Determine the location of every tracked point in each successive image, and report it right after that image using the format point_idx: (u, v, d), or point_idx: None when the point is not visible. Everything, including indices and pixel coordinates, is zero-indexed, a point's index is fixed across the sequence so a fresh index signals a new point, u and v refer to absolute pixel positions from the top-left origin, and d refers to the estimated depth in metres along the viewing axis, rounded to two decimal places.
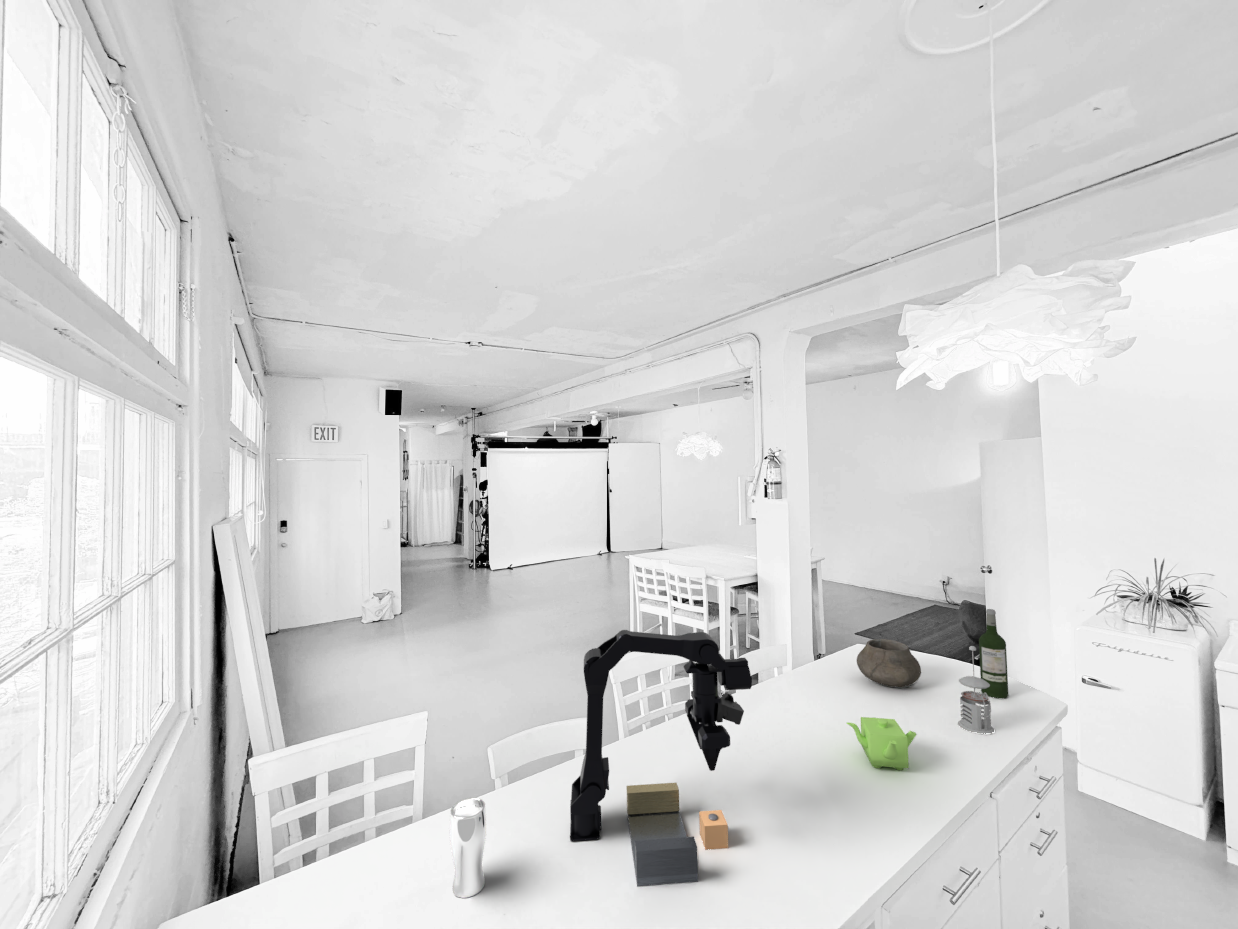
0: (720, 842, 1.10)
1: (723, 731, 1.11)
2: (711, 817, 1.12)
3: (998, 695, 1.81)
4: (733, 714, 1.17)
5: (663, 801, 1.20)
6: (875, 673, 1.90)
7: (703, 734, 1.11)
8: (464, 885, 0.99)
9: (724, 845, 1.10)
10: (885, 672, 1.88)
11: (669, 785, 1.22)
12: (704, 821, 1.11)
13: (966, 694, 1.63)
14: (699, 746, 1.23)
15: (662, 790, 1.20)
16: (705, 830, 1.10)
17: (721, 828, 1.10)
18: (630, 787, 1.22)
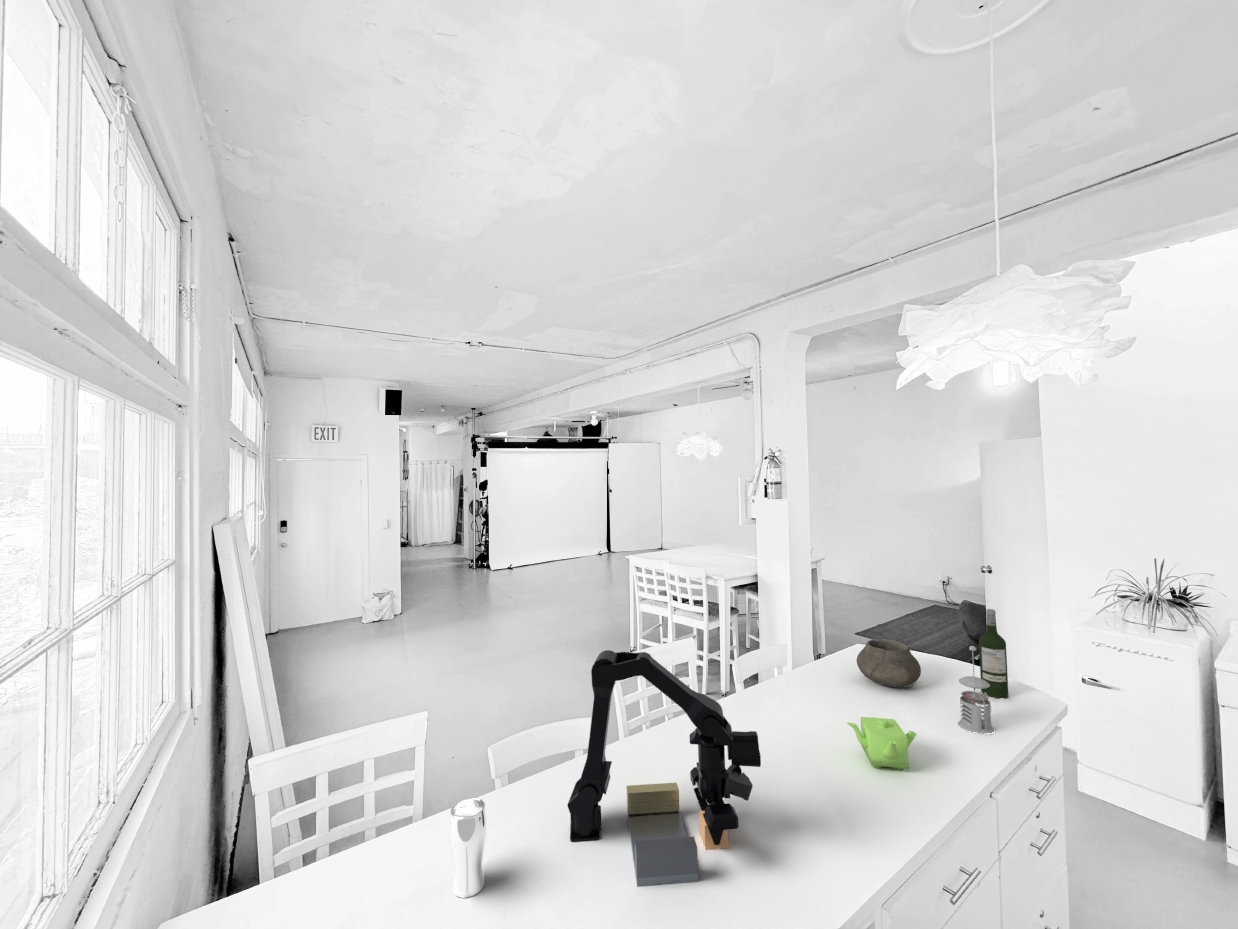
0: (720, 842, 1.10)
1: (731, 812, 1.05)
2: None
3: (998, 695, 1.81)
4: (741, 789, 1.11)
5: (663, 801, 1.20)
6: (875, 673, 1.90)
7: (710, 815, 1.04)
8: (464, 885, 0.99)
9: (724, 845, 1.10)
10: (885, 672, 1.88)
11: (669, 785, 1.22)
12: (704, 820, 1.11)
13: (966, 694, 1.63)
14: None
15: (662, 790, 1.20)
16: (705, 829, 1.10)
17: None
18: (630, 787, 1.22)
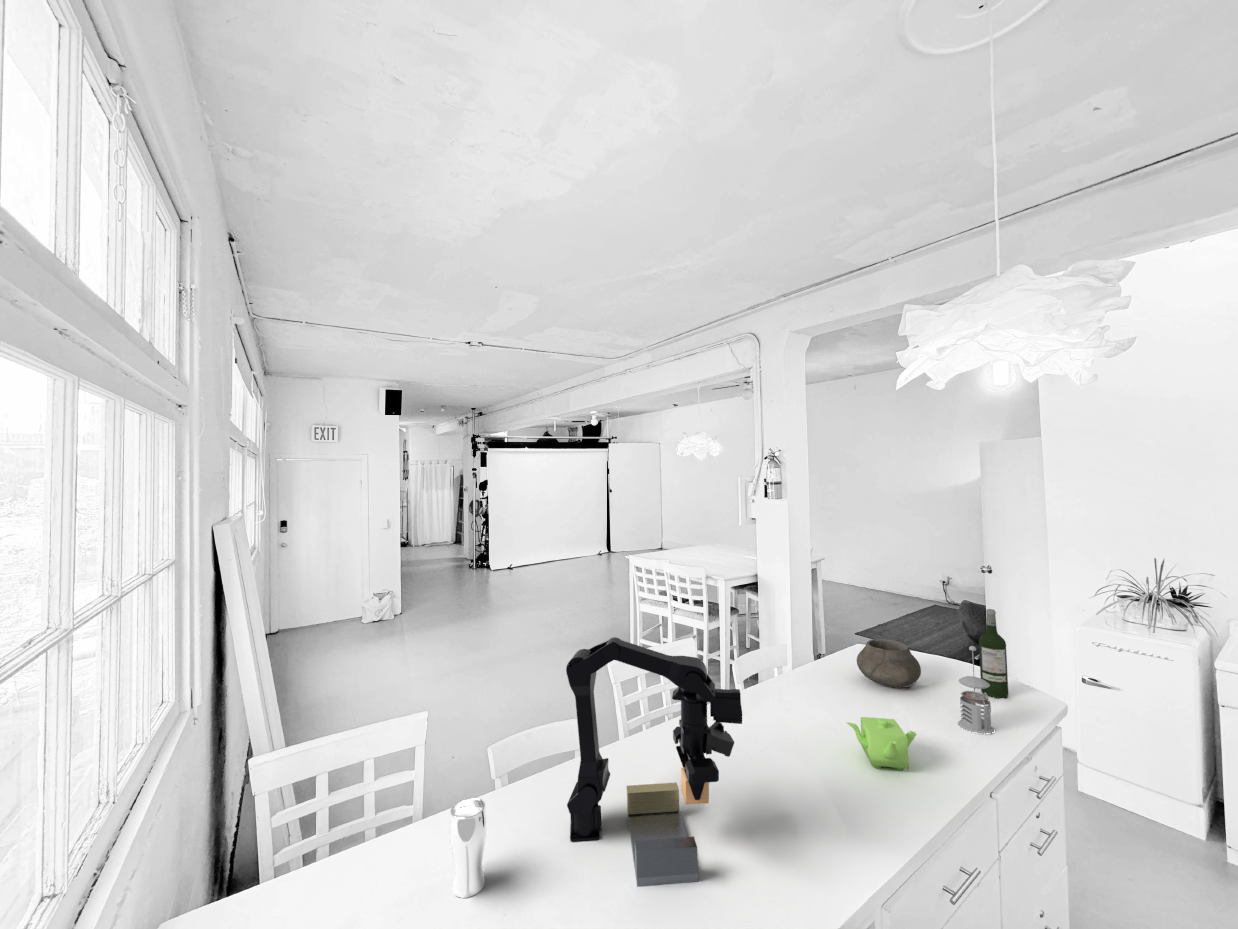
0: (701, 797, 1.10)
1: (711, 765, 1.05)
2: None
3: (998, 695, 1.81)
4: (723, 745, 1.11)
5: (663, 801, 1.20)
6: (875, 673, 1.90)
7: (690, 768, 1.04)
8: (464, 885, 0.99)
9: (704, 800, 1.10)
10: (885, 672, 1.88)
11: (669, 785, 1.22)
12: (685, 776, 1.12)
13: (966, 694, 1.63)
14: None
15: (662, 790, 1.20)
16: (686, 785, 1.10)
17: None
18: (630, 787, 1.22)
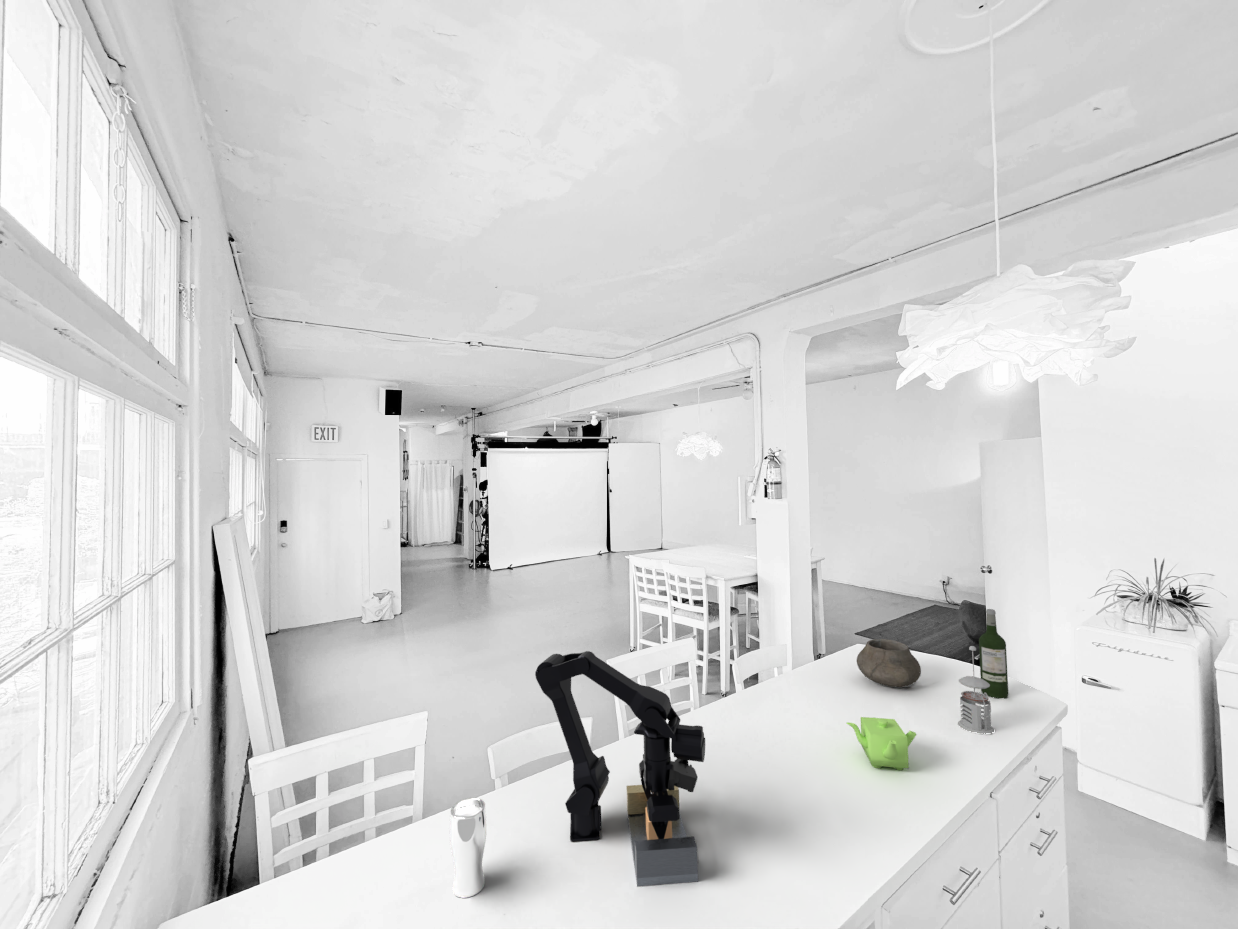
0: (664, 838, 1.09)
1: (672, 803, 1.04)
2: None
3: (998, 695, 1.81)
4: (686, 781, 1.10)
5: None
6: (875, 673, 1.90)
7: (651, 807, 1.04)
8: (464, 885, 0.99)
9: None
10: (885, 672, 1.88)
11: None
12: None
13: (966, 694, 1.63)
14: None
15: None
16: (649, 826, 1.09)
17: None
18: (630, 787, 1.22)
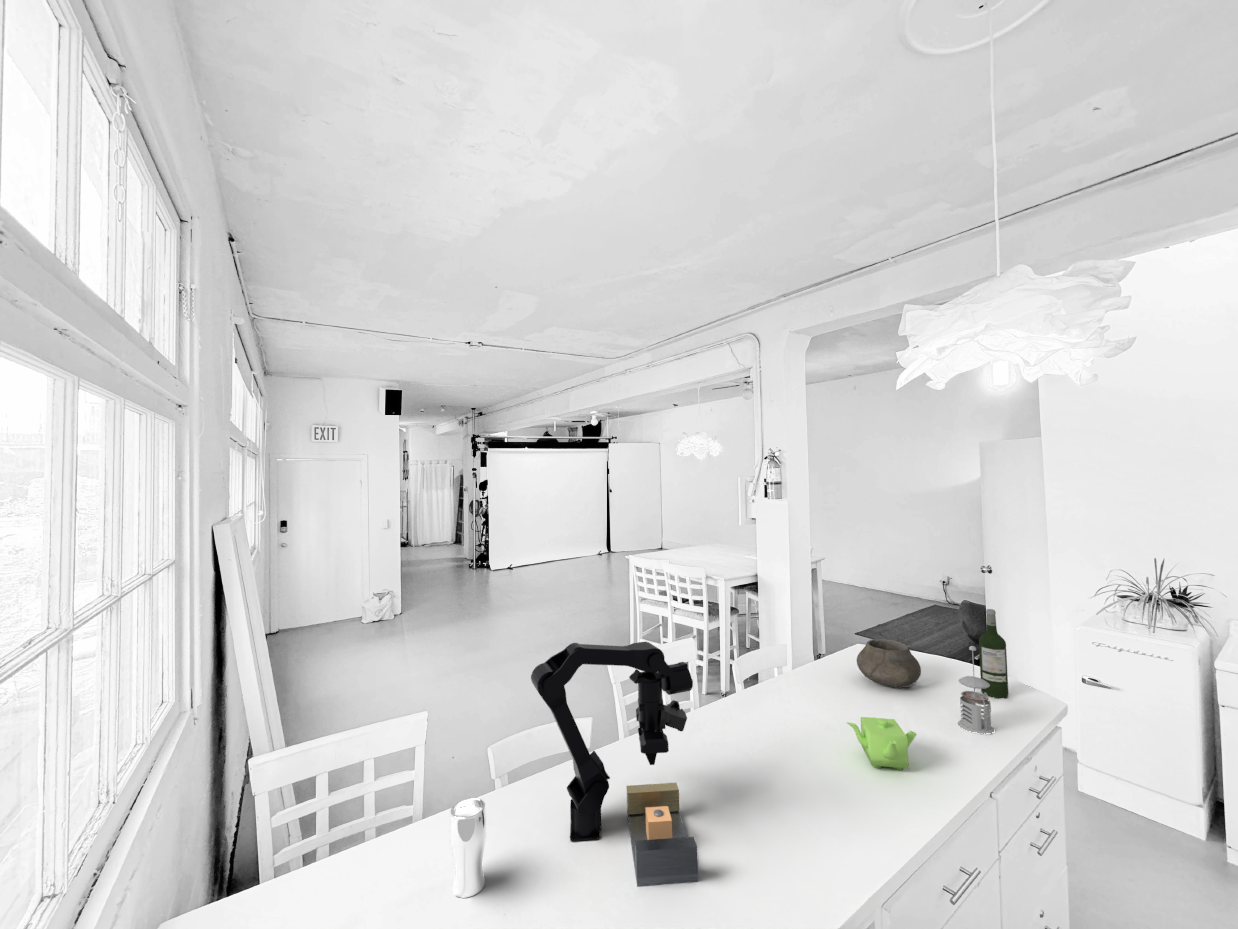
0: (664, 838, 1.09)
1: (662, 738, 1.15)
2: (656, 813, 1.11)
3: (998, 695, 1.81)
4: (676, 721, 1.21)
5: (663, 801, 1.20)
6: (875, 673, 1.90)
7: (642, 740, 1.15)
8: (464, 885, 0.99)
9: None
10: (885, 672, 1.88)
11: (669, 785, 1.22)
12: (649, 817, 1.11)
13: (966, 694, 1.63)
14: None
15: (662, 790, 1.20)
16: (649, 826, 1.09)
17: (665, 824, 1.09)
18: (630, 787, 1.22)
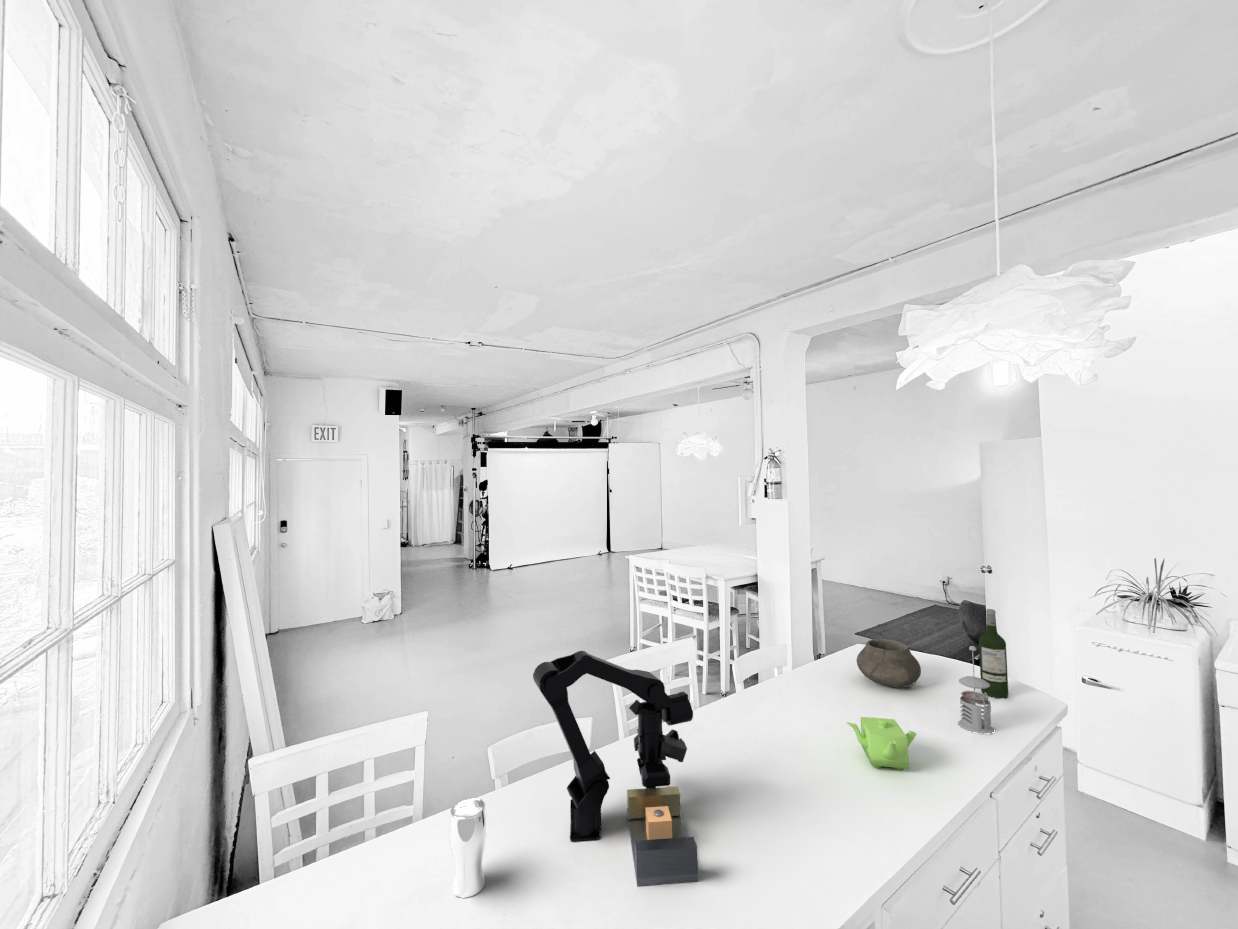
0: (664, 838, 1.09)
1: (664, 770, 1.15)
2: (656, 813, 1.11)
3: (998, 695, 1.81)
4: (676, 752, 1.21)
5: (664, 805, 1.18)
6: (875, 673, 1.90)
7: (644, 774, 1.15)
8: (464, 885, 0.99)
9: None
10: (885, 672, 1.88)
11: (670, 789, 1.20)
12: (649, 817, 1.11)
13: (966, 694, 1.63)
14: None
15: (663, 794, 1.18)
16: (649, 826, 1.09)
17: (665, 824, 1.09)
18: (631, 791, 1.20)
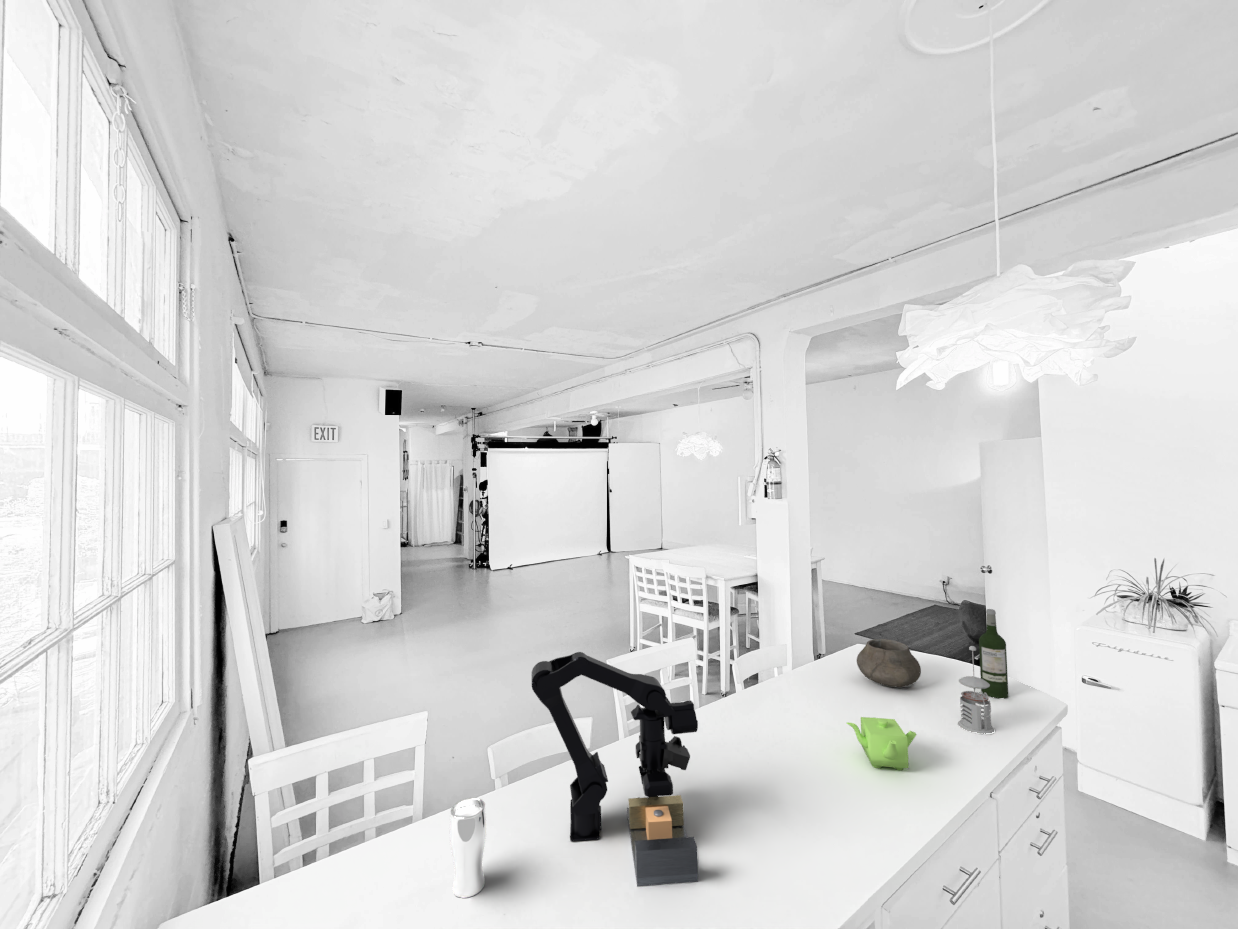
0: (664, 838, 1.09)
1: (666, 779, 1.11)
2: (656, 813, 1.11)
3: (998, 695, 1.81)
4: (679, 760, 1.18)
5: None
6: (875, 673, 1.90)
7: (646, 782, 1.11)
8: (464, 885, 0.99)
9: None
10: (885, 672, 1.88)
11: (673, 798, 1.17)
12: (649, 817, 1.11)
13: (966, 694, 1.63)
14: None
15: (666, 804, 1.15)
16: (649, 826, 1.09)
17: (665, 824, 1.09)
18: (633, 800, 1.17)
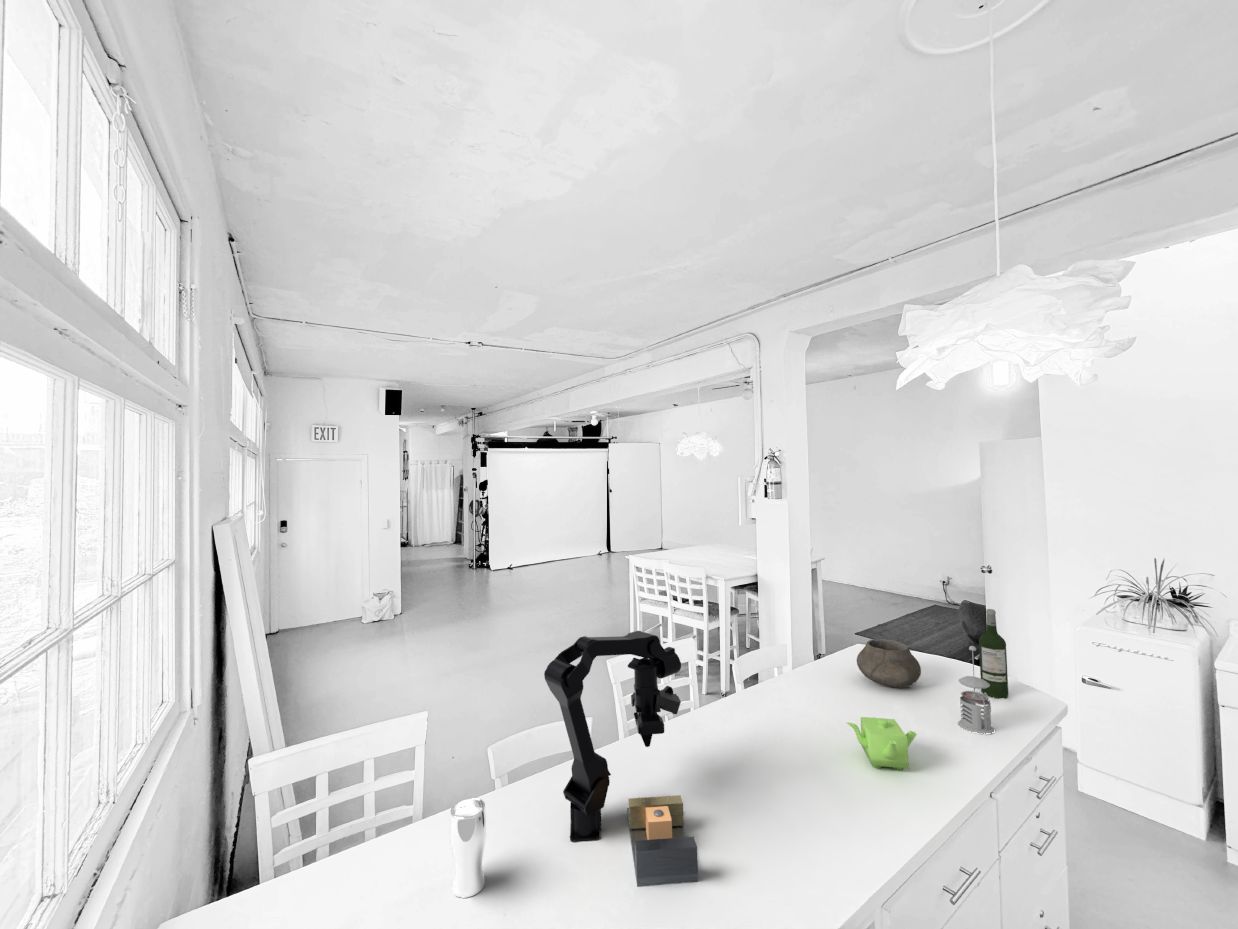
0: (664, 838, 1.09)
1: (658, 720, 1.22)
2: (656, 813, 1.11)
3: (998, 695, 1.81)
4: (670, 705, 1.28)
5: None
6: (875, 673, 1.90)
7: (640, 722, 1.22)
8: (464, 885, 0.99)
9: None
10: (885, 672, 1.88)
11: (673, 798, 1.17)
12: (649, 817, 1.11)
13: (966, 694, 1.63)
14: None
15: (666, 804, 1.15)
16: (649, 826, 1.09)
17: (665, 824, 1.09)
18: (633, 800, 1.17)
